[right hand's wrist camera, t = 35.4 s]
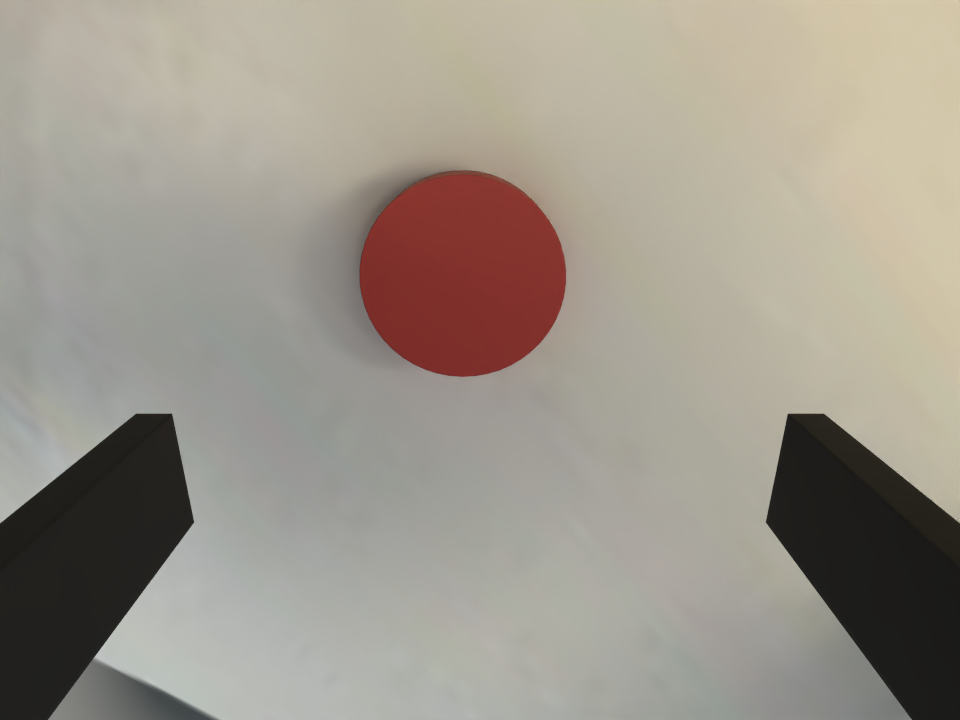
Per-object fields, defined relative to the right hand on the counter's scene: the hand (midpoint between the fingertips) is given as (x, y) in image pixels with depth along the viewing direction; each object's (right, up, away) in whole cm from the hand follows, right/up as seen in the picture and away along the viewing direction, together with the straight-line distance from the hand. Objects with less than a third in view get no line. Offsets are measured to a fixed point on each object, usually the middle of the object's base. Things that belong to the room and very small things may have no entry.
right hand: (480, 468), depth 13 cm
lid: (-1, +6, +14) cm, 15 cm away
